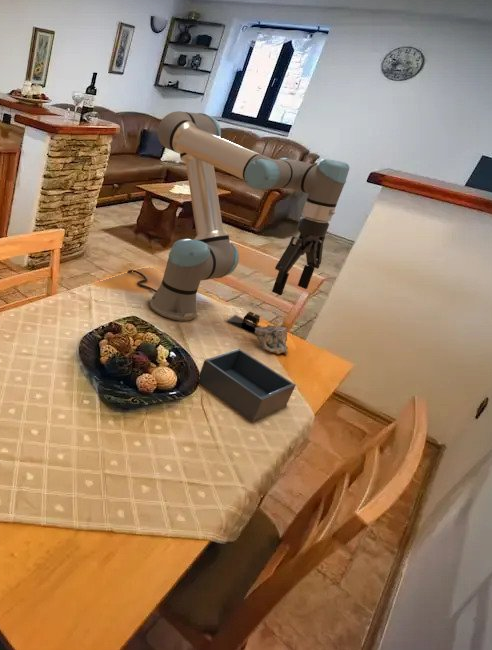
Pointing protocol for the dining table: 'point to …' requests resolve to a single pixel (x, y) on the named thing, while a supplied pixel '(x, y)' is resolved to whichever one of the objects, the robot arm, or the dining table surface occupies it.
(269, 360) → the dining table surface
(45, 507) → the dining table surface
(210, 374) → the dark blue storage bin
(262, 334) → the mineral specimen
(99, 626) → the dining table surface
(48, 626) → the dining table surface
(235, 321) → the build plate
